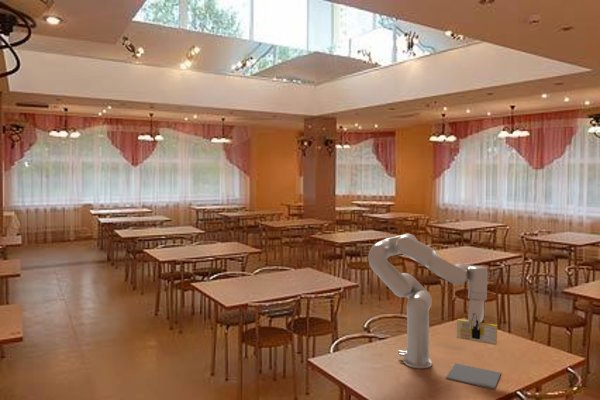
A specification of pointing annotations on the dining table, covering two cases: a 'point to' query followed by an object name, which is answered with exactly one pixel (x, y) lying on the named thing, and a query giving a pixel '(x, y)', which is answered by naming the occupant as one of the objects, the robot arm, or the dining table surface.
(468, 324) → the candy box
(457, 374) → the mat
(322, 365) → the dining table surface
